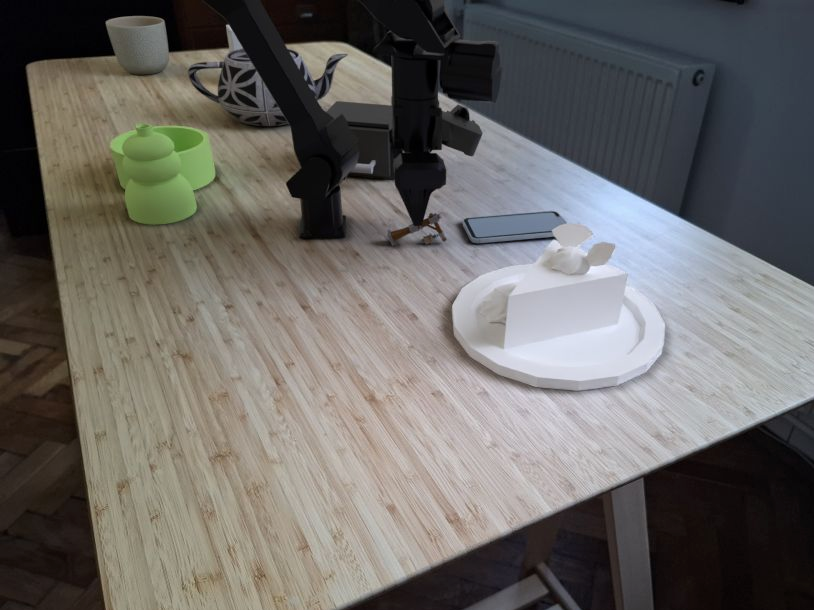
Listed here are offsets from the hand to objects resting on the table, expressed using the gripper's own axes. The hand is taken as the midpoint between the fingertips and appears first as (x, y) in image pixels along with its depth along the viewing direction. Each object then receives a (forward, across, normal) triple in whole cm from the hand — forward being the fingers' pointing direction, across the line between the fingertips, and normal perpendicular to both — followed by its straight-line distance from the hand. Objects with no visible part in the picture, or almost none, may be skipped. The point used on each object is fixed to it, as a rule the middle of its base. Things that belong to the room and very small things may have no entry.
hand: (415, 210), depth 94 cm
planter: (+5, +92, +57) cm, 108 cm away
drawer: (+4, +26, +7) cm, 28 cm away
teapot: (+5, +57, +24) cm, 62 cm away
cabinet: (+5, +30, +6) cm, 31 cm away
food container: (+5, +20, +38) cm, 43 cm away
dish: (+5, -22, -15) cm, 27 cm away
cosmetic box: (+5, +82, +33) cm, 88 cm away
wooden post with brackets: (+5, 0, 0) cm, 5 cm away
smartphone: (+5, +3, -15) cm, 16 cm away
